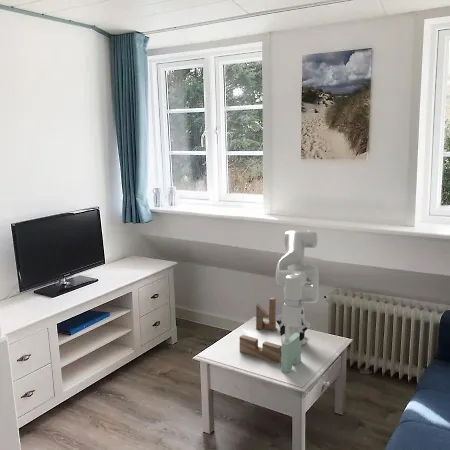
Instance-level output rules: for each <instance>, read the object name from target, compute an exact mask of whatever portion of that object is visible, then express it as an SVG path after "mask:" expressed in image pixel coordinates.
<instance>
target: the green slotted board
mask: <svg viewBox="0 0 450 450" xmlns="http://www.w3.org/2000/svg"><path fill="white" fill-rule="evenodd" d="M299 336H300V333H294V334H293V335H292V336H291V337H289V338H288V339H287V340H286V341H284V342H283V343H282V342H281V346H282V361H281V370H280V371H281V372H282V373H285V374H288V373H289V372H290V371H291V370H293V365H294V366H297V365H298V364H300V362H302V346H301V341H300V340H299Z"/></svg>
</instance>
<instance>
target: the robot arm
mask: <svg viewBox="0 0 450 450" xmlns="http://www.w3.org/2000/svg"><path fill="white" fill-rule="evenodd" d="M318 238H319V237H318V233H317V231H315V230H300V229H292V230H291V229H290V230H288V231H285V233H284V234H283V242H284V247H285V251H286V254H284V255H283V256H282V257H281V258H280V259H279V260H278V262H277V265H276V269H275V283H276V284H277V286H281V287H283V298H284V303H282V308H281V314H278V315H277V314H276V317H275V318H276V324H278V328H279V333H280V336H281V339H280V340H281V344H282V343H283V342H284V341H286V340H287V339H288V338H289V337H291V336H292V335H293V334H294V333H300V336H299V340H300V341H301V347H302V346H303V345H305V344H306V342H307V341H306V338H305V332H306V331H307V330H308V329H309V328H310V327H311V323H310V322H309V321H307V320H306V318H305V309H304V304H305V303H307V304H314V303H317V302H318V300H319V292H320V290H319V288H320V287H319V284H320V283H319V281H320V279H319V273H320V272H319V268H318V266H317V265H315V264H306V263H305V248H306V249H315V248H317V245H318ZM286 267H287V269H285V268H286ZM304 325H305V326H304Z"/></svg>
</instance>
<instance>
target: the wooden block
mask: <svg viewBox="0 0 450 450" xmlns="http://www.w3.org/2000/svg"><path fill="white" fill-rule="evenodd" d="M268 302H269V303H268V304H269V305H268V307H269V308H268V312H267V311H266V309H264V308H263V307H262V306H261V305H260V304H259V303H258V302H256V305H255V306H256V307H255V311H256V312H255V313H256V314H255V320H256V321H255V329H256V330H263V329H264V330H268V331H269V330H270V331H276V329H277V321H276V318H275V317H276V316H277V313H276V311H277V306H276V305H277V298H276V297H274V296H273V297H269V300H268ZM265 318H268V320H267V321H265V320H264V319H265Z"/></svg>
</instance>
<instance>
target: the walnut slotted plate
mask: <svg viewBox="0 0 450 450" xmlns="http://www.w3.org/2000/svg"><path fill="white" fill-rule="evenodd" d="M261 344H262V345H261V346H259V338H256V337H252V336H248V335H245V334H241V335H240V336H239V353H243V354H245V355H249V356H252V357H255V358H259V359H261V360H265V361H268V362H271V363H274V364H277V365H279V364H280V363H282V345H280V344H278V343H277V344H276V343H274V342H273V343H272V342H269V341H266V340H265V341H264V342H262V343H261Z"/></svg>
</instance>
